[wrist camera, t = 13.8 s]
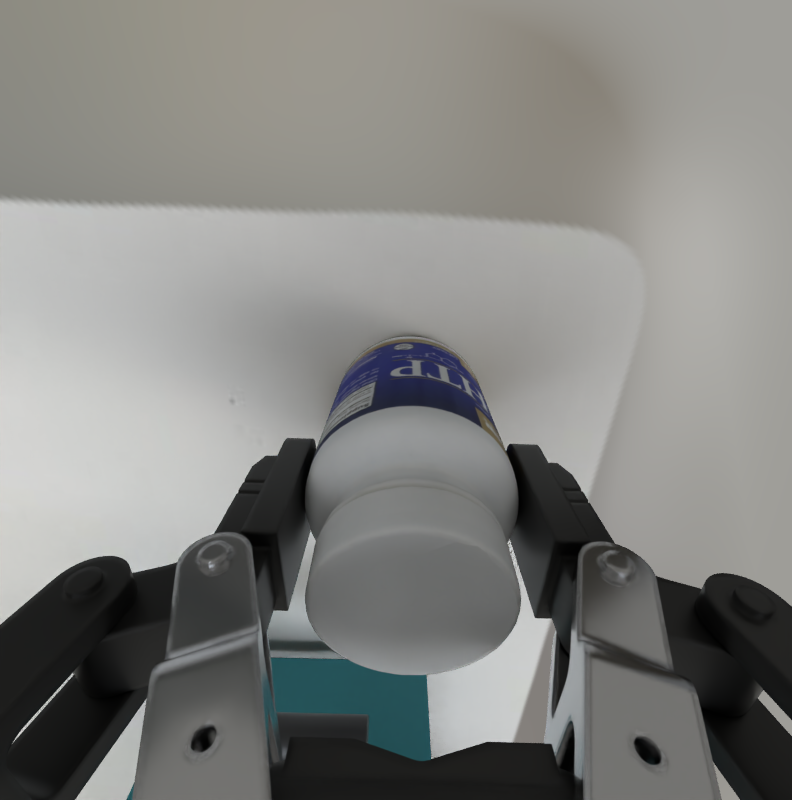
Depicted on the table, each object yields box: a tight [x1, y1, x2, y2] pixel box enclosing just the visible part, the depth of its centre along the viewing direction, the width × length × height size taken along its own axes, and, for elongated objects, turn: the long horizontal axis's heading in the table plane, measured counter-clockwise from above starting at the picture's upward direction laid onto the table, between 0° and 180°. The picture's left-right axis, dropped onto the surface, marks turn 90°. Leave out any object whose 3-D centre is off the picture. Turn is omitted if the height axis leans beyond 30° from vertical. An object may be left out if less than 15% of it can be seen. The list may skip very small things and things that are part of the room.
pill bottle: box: [305, 336, 521, 675], centre depth 11 cm, size 5×5×9 cm
